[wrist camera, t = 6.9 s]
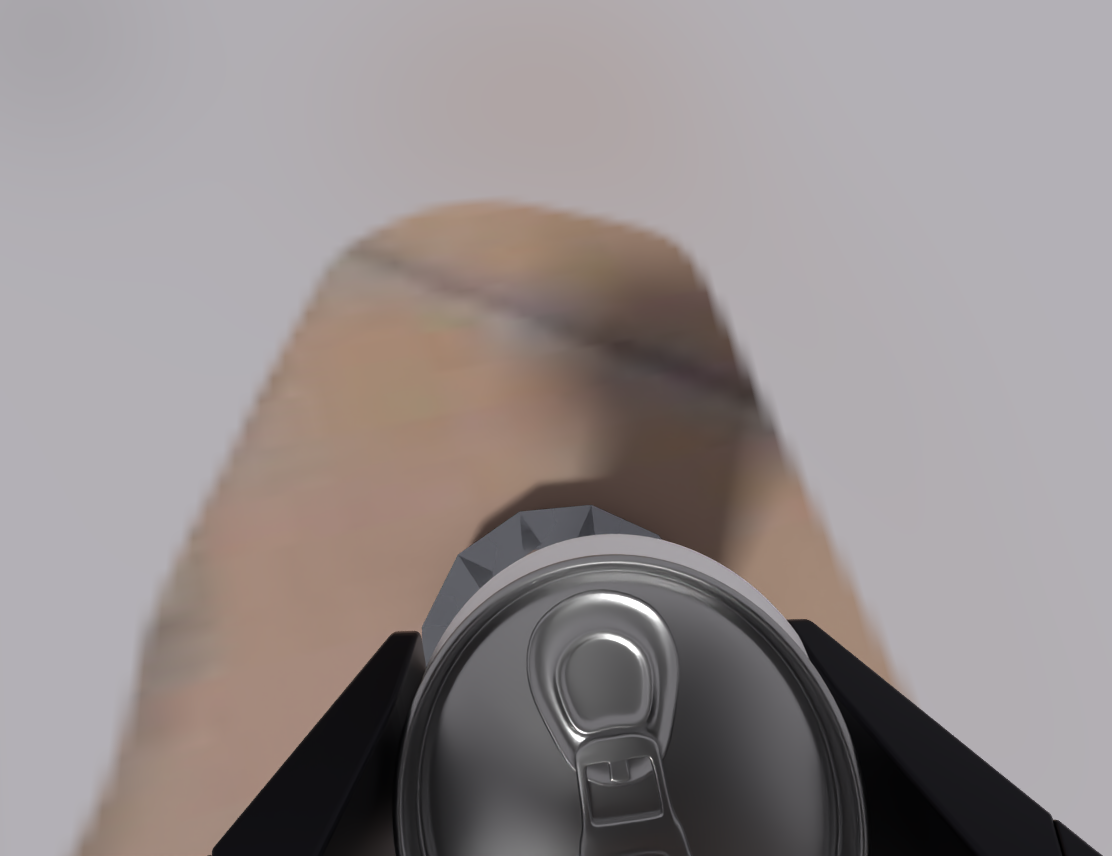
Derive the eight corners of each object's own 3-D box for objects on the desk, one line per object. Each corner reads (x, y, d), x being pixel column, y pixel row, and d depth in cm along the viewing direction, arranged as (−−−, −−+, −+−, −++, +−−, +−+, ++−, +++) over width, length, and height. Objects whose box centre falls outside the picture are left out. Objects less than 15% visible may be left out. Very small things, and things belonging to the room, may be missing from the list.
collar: (726, 787, 20) (740, 803, 18) (435, 823, 19) (427, 842, 18) (679, 501, 23) (688, 495, 21) (427, 525, 22) (419, 521, 21)
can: (691, 542, 19) (815, 481, 7) (739, 752, 17) (1012, 1125, 5) (507, 574, 19) (343, 564, 7) (534, 783, 17) (373, 1195, 6)
